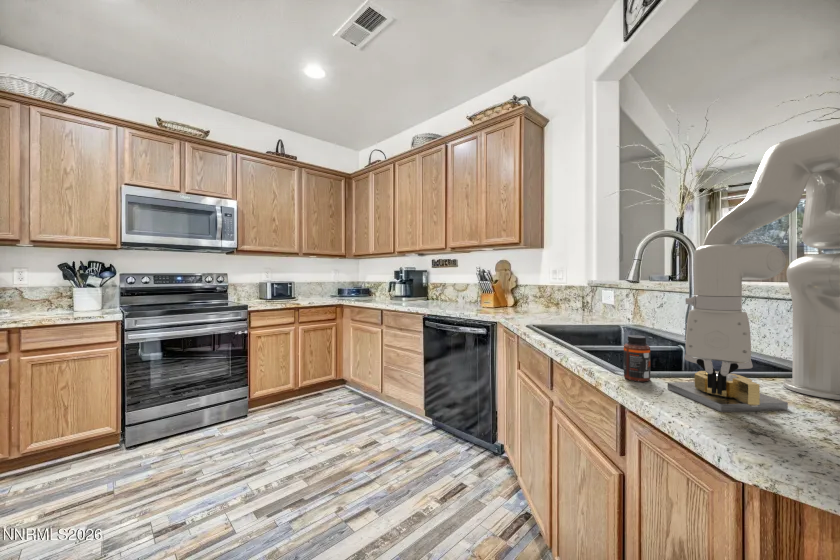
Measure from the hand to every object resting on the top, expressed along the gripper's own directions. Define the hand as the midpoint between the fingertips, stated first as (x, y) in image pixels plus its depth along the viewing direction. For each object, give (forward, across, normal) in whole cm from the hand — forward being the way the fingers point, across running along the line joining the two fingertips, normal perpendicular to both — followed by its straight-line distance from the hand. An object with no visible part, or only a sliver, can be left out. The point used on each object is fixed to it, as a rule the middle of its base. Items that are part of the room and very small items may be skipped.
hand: (716, 392), depth 72 cm
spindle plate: (+3, +1, +6) cm, 7 cm away
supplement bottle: (+3, -16, +11) cm, 20 cm away
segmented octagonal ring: (+1, +2, +5) cm, 5 cm away
